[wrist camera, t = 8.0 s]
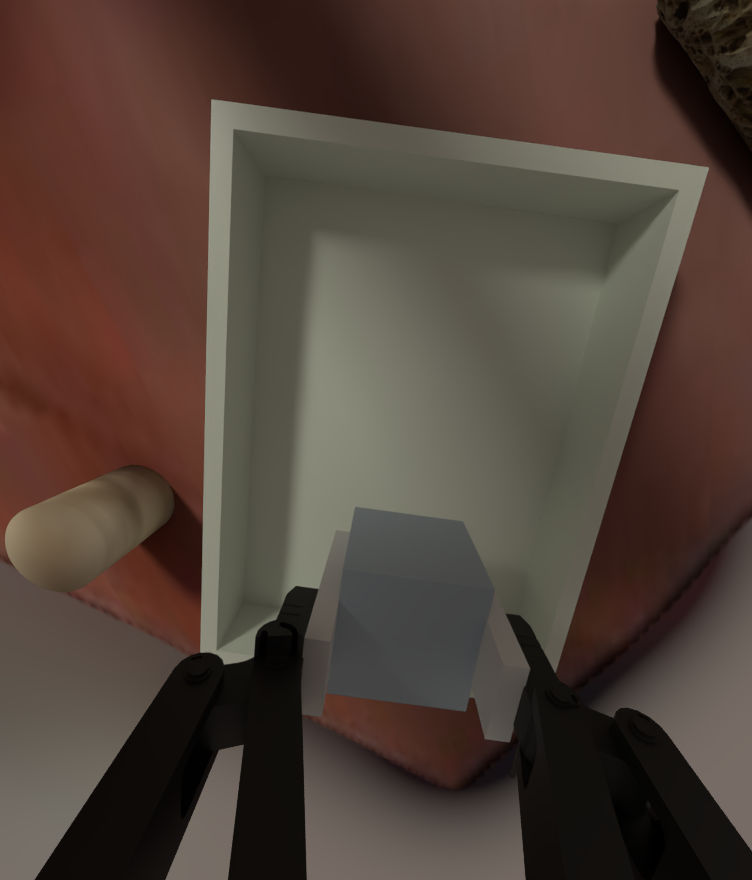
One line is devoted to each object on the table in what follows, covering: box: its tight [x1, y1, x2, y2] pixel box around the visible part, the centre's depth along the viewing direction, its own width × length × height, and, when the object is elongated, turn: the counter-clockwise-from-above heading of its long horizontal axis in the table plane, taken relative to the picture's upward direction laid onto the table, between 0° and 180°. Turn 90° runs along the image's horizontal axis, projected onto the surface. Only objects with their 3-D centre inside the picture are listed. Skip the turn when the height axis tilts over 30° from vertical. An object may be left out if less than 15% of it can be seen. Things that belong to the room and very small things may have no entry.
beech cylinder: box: [5, 465, 175, 592], centre depth 23 cm, size 5×5×7 cm
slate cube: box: [327, 507, 495, 712], centre depth 15 cm, size 5×5×5 cm
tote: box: [200, 99, 709, 698], centre depth 22 cm, size 22×30×5 cm
